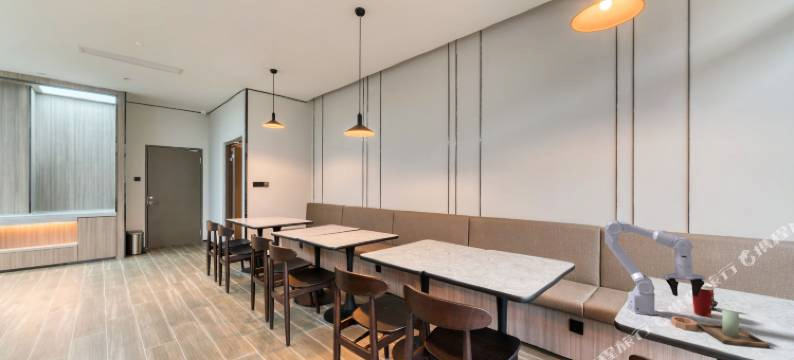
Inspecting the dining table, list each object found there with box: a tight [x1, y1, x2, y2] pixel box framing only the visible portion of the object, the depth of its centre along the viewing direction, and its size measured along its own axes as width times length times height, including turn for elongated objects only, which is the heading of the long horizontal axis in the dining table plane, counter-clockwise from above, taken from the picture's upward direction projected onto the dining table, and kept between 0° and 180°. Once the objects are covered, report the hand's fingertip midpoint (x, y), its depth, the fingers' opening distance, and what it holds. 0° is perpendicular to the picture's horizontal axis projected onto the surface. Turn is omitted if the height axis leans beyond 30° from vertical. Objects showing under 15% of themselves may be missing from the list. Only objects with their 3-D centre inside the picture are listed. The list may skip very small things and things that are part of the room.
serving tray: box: [696, 322, 771, 349], centre depth 120 cm, size 14×14×1 cm
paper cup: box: [690, 282, 715, 318], centre depth 140 cm, size 8×8×14 cm
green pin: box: [721, 309, 740, 338], centre depth 120 cm, size 4×4×9 cm
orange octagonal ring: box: [670, 315, 698, 332], centre depth 129 cm, size 8×8×2 cm
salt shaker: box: [711, 289, 719, 312], centre depth 146 cm, size 6×6×12 cm
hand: (685, 295), depth 135 cm, fingers open, 7 cm apart
